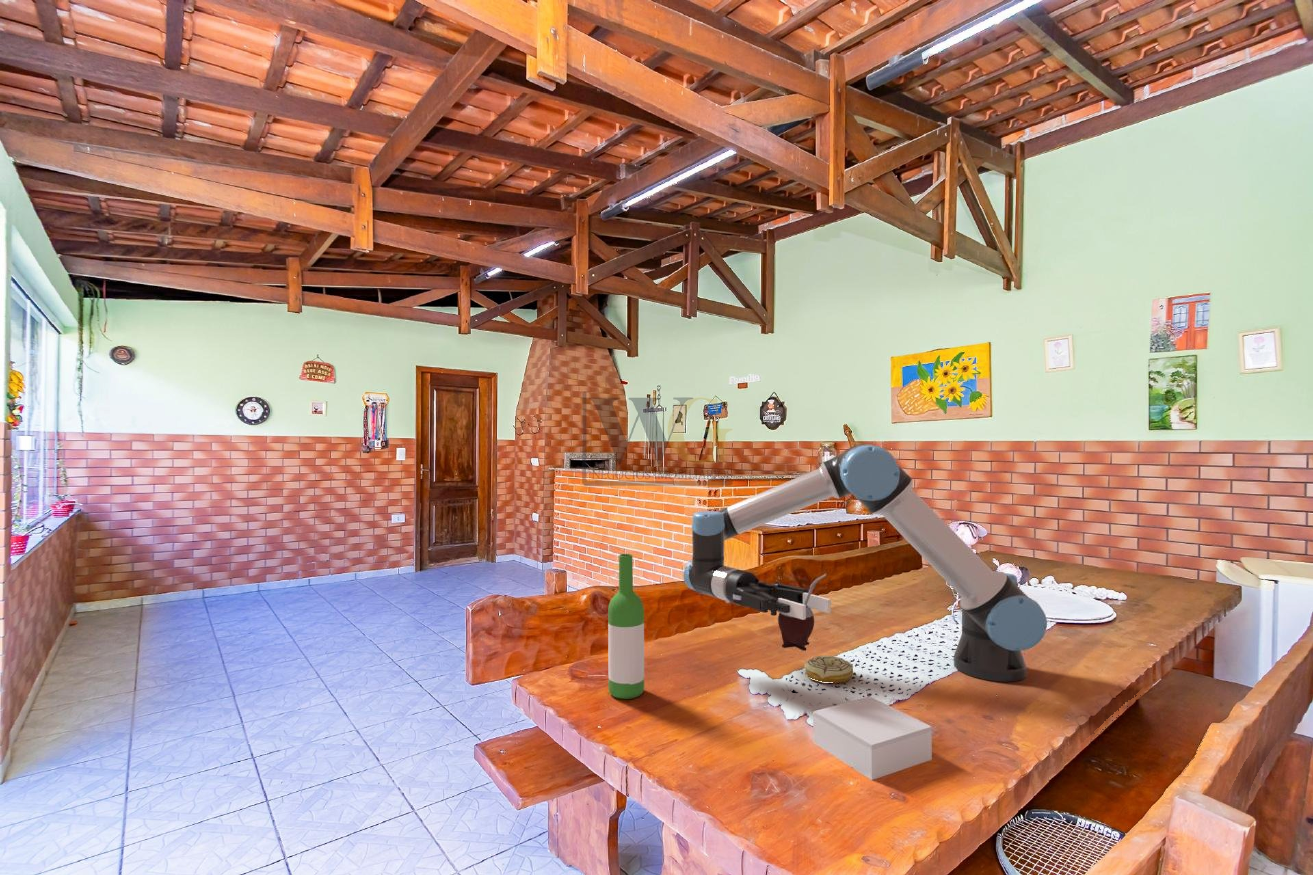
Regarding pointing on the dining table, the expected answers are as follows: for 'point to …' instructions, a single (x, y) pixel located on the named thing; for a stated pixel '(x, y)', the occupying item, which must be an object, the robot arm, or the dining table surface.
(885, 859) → the dining table surface
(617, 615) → the wine bottle
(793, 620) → the mate gourd
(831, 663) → the decorated donut
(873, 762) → the storage box
